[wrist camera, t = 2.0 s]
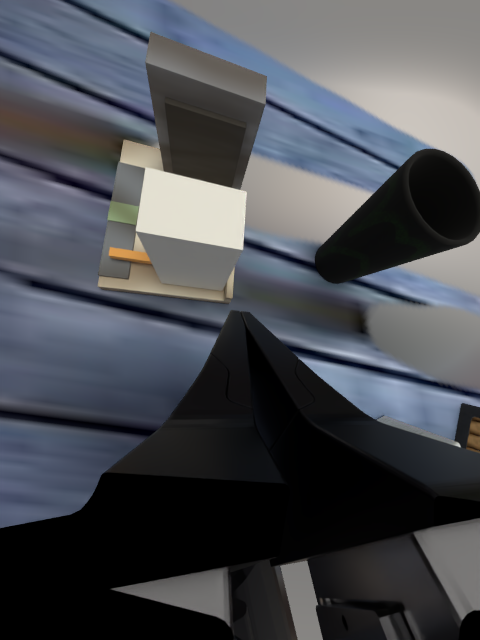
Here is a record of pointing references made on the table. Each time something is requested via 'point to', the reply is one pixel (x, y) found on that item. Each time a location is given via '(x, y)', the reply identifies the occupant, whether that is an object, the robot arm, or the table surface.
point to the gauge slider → (188, 230)
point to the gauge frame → (182, 152)
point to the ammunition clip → (469, 428)
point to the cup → (405, 219)
